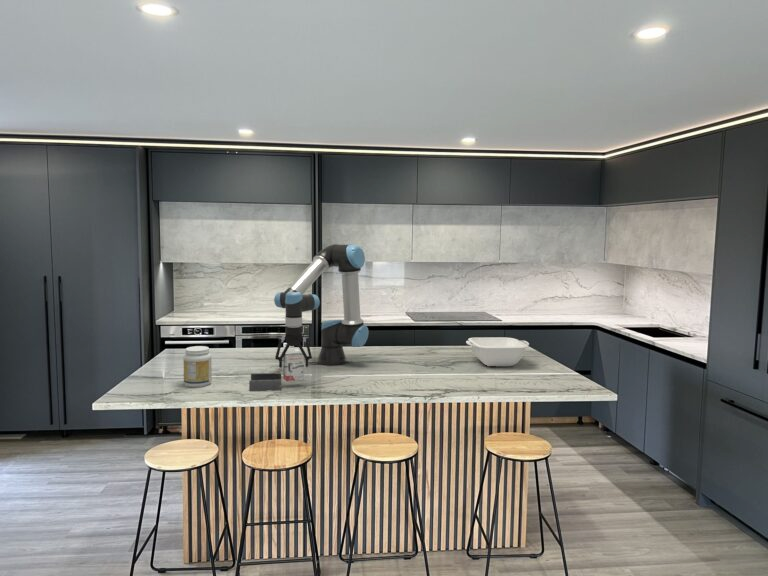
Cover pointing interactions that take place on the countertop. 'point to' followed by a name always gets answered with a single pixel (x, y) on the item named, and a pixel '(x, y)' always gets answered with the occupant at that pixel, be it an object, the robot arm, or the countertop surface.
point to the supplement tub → (197, 366)
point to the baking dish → (498, 350)
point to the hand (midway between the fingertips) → (293, 373)
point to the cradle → (265, 381)
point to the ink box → (293, 367)
